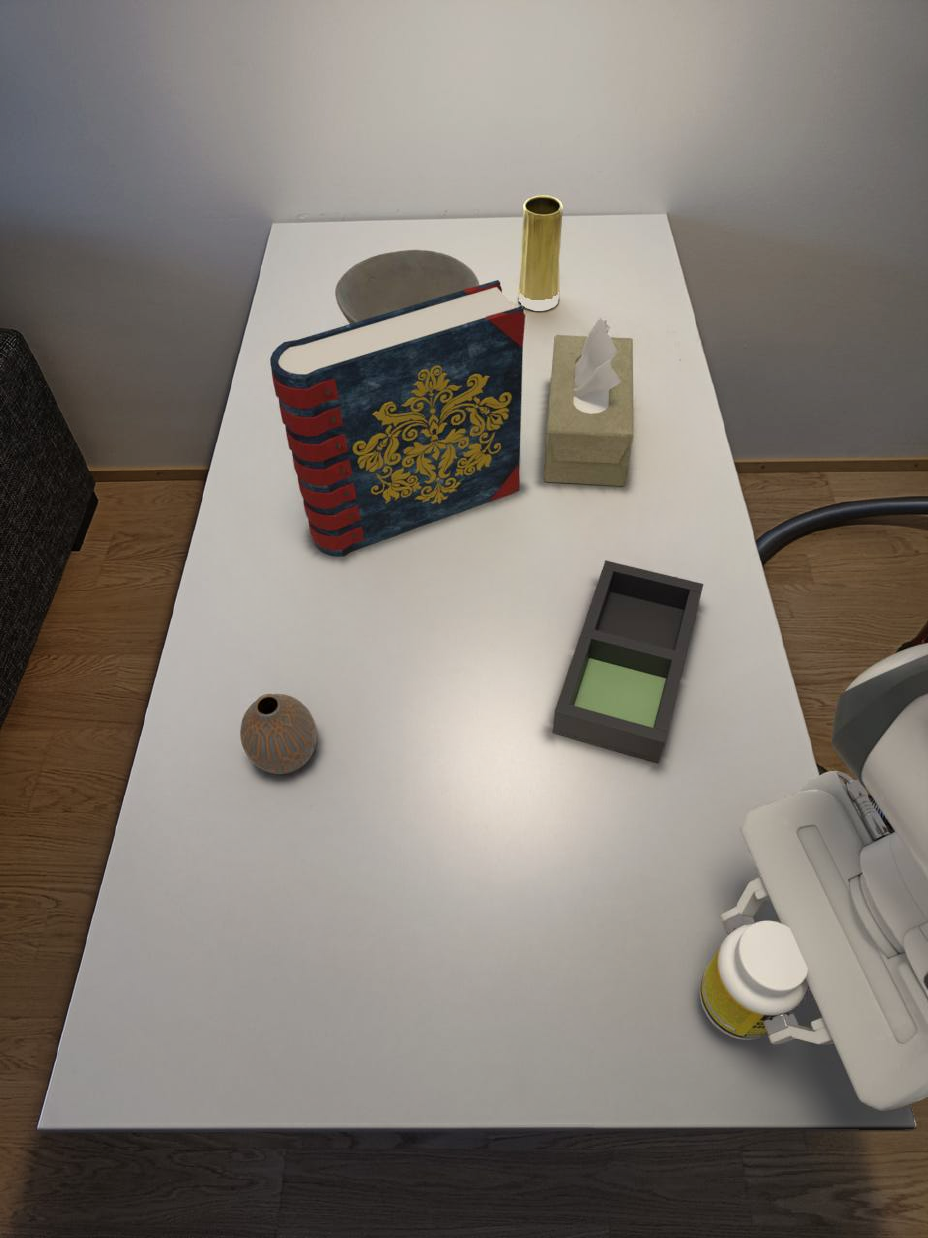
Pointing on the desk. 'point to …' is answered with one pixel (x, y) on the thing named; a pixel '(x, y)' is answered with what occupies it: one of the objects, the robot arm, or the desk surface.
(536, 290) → the vase
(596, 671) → the holder
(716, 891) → the desk surface
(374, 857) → the desk surface
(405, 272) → the bowl
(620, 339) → the tissue box
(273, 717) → the vase
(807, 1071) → the desk surface
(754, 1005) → the pill bottle
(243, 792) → the desk surface
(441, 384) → the book
